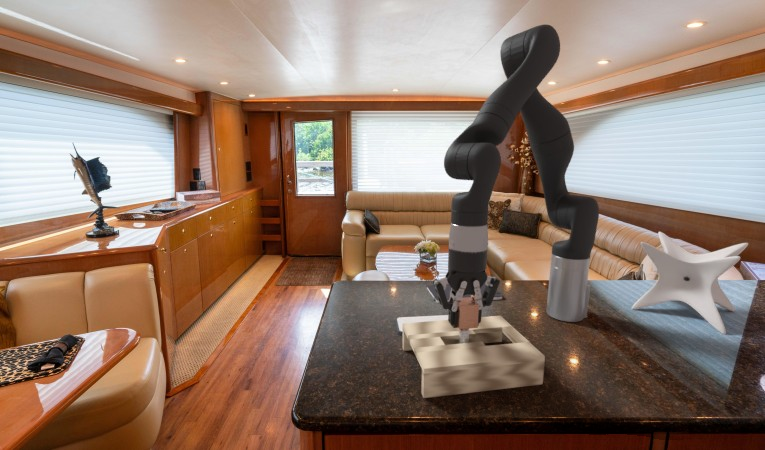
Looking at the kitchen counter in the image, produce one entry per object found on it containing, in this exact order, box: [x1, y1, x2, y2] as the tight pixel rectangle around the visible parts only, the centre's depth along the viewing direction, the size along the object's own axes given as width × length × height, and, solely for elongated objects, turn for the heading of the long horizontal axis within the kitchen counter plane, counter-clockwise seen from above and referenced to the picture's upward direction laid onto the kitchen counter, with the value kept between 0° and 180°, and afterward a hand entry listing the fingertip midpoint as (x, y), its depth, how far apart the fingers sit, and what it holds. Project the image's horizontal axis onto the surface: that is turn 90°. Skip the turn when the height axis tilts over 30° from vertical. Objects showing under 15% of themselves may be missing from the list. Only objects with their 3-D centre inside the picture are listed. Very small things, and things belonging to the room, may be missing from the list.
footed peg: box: [457, 297, 479, 344], centre depth 76 cm, size 5×5×14 cm
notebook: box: [425, 283, 504, 304], centre depth 117 cm, size 13×2×21 cm
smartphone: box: [394, 314, 448, 337], centre depth 95 cm, size 9×2×16 cm
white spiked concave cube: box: [631, 231, 749, 335], centre depth 102 cm, size 20×20×20 cm
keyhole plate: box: [401, 315, 546, 399], centre depth 77 cm, size 24×18×6 cm
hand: (464, 325), depth 76 cm, fingers closed on footed peg, 4 cm apart
